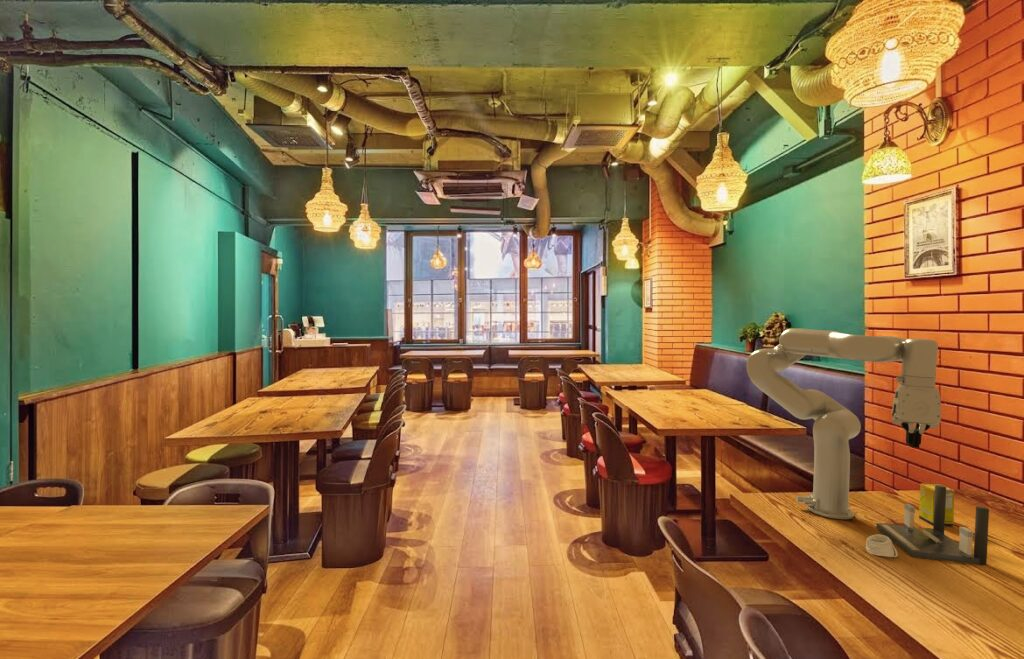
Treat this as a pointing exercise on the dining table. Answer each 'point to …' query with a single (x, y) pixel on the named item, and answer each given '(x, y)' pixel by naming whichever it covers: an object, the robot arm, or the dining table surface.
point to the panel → (926, 544)
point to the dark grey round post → (980, 523)
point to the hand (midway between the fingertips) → (912, 446)
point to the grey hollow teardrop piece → (880, 546)
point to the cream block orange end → (924, 531)
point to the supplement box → (928, 504)
